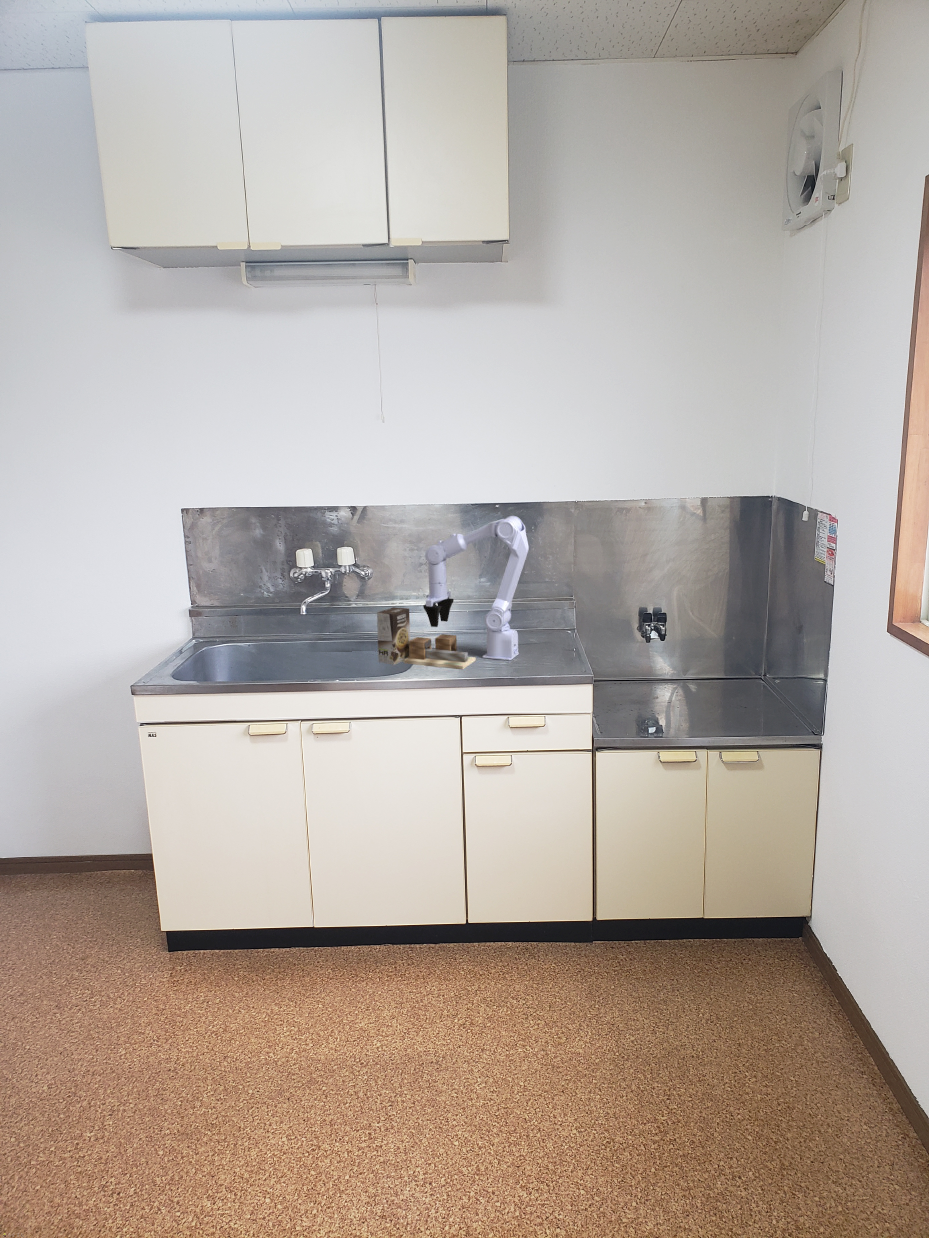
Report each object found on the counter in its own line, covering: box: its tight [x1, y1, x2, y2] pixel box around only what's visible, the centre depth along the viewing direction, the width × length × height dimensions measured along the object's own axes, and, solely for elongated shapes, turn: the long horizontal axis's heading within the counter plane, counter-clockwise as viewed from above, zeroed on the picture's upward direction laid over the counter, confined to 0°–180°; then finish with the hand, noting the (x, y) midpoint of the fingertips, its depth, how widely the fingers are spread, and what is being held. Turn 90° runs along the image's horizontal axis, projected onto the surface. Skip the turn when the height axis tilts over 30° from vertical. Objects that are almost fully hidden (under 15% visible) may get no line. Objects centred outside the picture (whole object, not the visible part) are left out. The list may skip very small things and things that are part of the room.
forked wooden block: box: [434, 633, 458, 652], centre depth 283 cm, size 5×5×6 cm
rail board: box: [402, 636, 476, 670], centre depth 274 cm, size 20×10×6 cm, turn 67°
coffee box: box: [376, 606, 411, 666], centre depth 275 cm, size 9×6×16 cm
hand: (439, 623), depth 283 cm, fingers open, 7 cm apart
